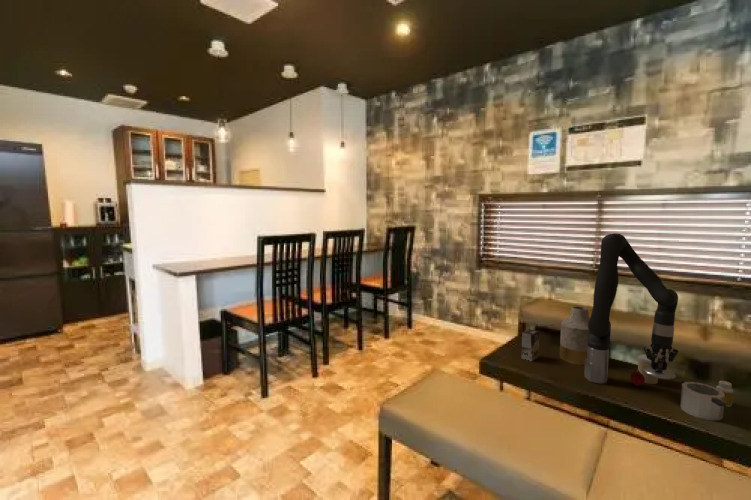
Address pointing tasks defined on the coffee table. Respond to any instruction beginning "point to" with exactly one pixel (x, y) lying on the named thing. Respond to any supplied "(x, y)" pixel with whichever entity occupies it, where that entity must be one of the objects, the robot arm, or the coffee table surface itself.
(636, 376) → the onion
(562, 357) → the vase
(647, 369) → the lid
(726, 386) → the supplement bottle
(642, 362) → the coffee cup
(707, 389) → the pot
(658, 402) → the coffee table surface
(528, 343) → the coffee box
